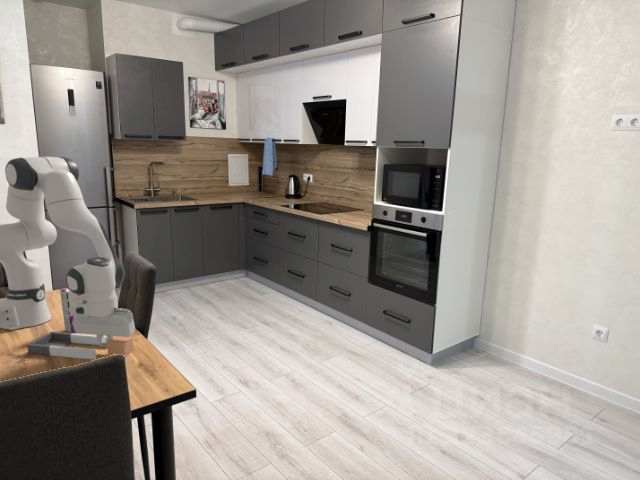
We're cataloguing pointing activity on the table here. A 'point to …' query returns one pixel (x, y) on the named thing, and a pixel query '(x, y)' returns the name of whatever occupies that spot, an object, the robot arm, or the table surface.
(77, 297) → the candy bar box
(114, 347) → the block
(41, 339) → the bin
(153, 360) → the table surface
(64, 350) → the channel
